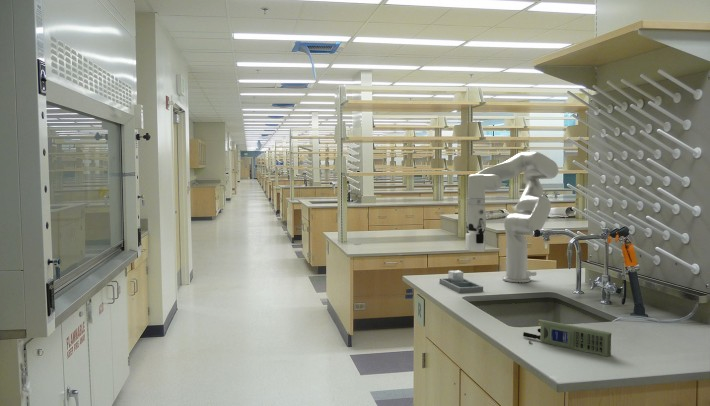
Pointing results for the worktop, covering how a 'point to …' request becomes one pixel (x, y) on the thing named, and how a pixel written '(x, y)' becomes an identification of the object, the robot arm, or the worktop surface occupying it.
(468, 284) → the bay tray
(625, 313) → the worktop surface
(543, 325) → the handheld radio
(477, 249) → the medicine bottle
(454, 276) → the steel block
